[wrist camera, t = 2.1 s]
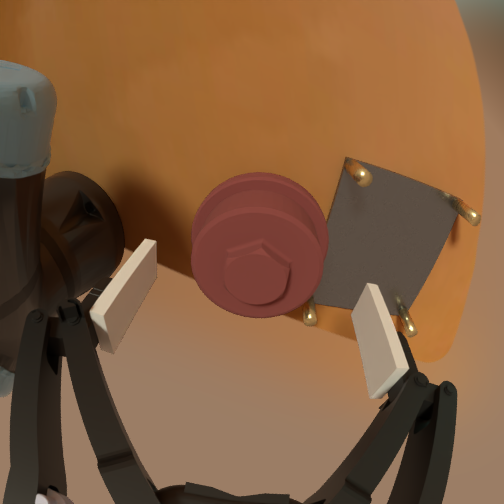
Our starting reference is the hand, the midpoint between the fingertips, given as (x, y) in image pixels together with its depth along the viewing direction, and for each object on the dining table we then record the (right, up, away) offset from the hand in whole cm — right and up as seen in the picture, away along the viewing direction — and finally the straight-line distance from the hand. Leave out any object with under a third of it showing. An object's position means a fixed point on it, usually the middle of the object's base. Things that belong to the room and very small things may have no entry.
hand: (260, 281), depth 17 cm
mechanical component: (+1, +6, +10) cm, 12 cm away
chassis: (+14, +2, +12) cm, 18 cm away
